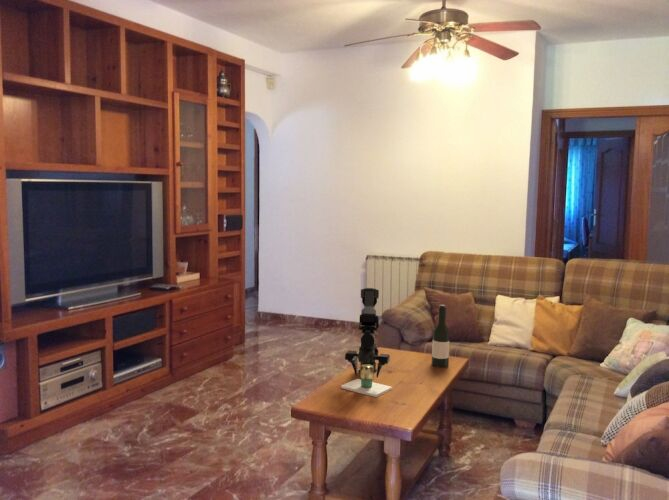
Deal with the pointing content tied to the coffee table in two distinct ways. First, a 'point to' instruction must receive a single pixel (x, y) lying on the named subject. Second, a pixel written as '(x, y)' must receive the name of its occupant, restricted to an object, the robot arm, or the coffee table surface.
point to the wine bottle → (441, 341)
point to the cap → (366, 371)
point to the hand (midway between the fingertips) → (366, 376)
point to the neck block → (366, 387)
